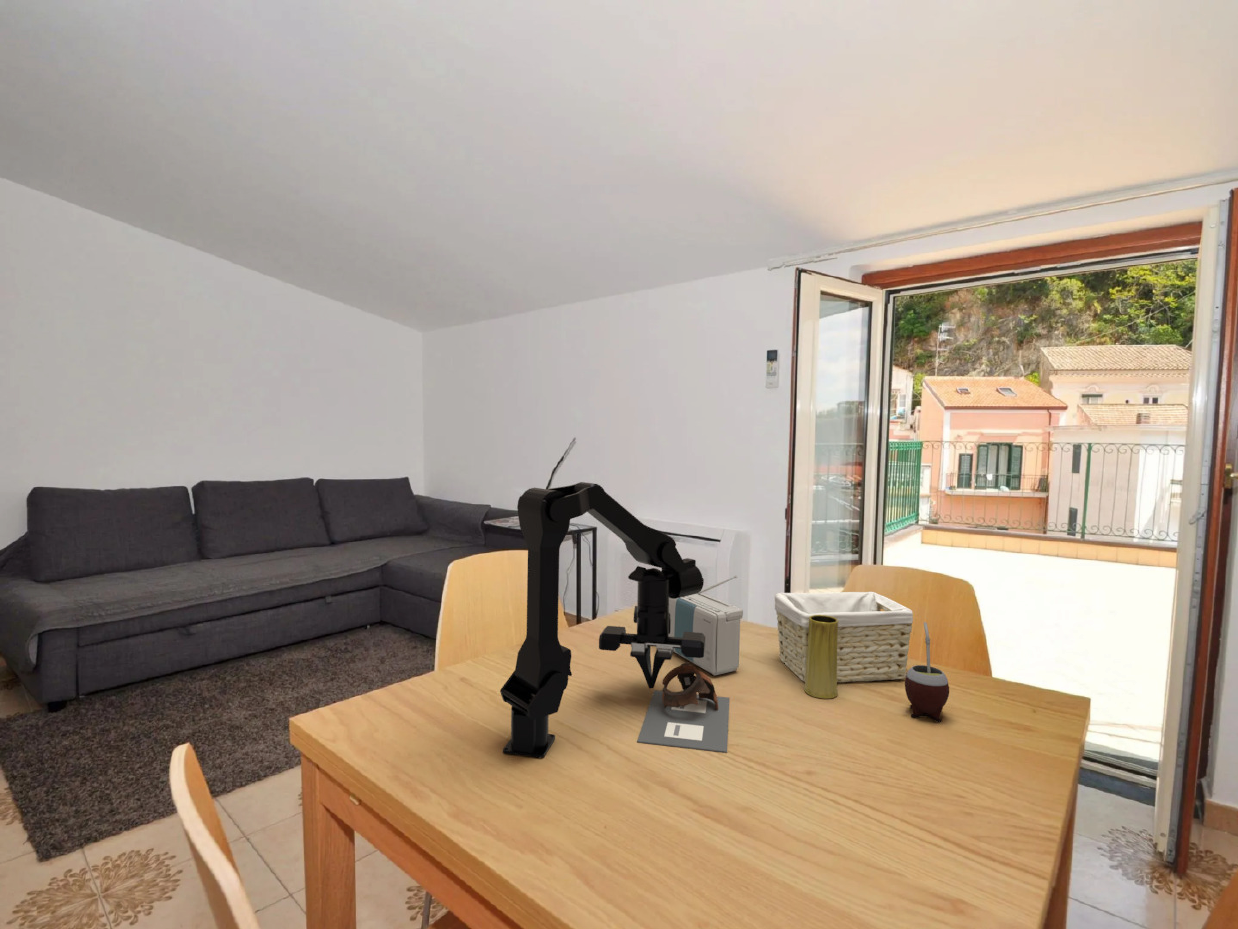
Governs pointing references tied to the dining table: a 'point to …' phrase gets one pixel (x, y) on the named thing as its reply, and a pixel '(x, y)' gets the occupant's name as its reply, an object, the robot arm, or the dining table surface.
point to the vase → (822, 657)
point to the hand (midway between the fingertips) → (651, 687)
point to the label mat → (687, 724)
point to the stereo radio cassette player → (709, 629)
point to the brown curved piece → (688, 687)
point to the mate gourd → (926, 688)
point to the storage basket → (848, 633)
